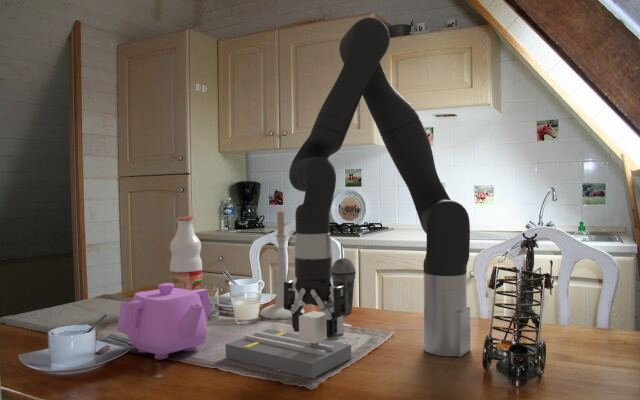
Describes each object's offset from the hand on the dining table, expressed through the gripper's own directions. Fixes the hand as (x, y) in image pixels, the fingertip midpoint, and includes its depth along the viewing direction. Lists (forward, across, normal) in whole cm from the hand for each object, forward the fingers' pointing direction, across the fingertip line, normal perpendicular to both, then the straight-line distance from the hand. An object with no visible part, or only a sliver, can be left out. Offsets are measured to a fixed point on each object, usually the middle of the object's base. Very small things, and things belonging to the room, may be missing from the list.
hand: (314, 333), depth 108 cm
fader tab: (+3, 0, 0) cm, 3 cm away
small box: (+7, +11, -23) cm, 26 cm away
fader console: (+6, +7, 0) cm, 9 cm away
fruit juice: (+7, +61, -19) cm, 64 cm away
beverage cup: (+7, +19, -41) cm, 46 cm away
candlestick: (+7, +33, -30) cm, 45 cm away
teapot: (+7, +34, +10) cm, 36 cm away
